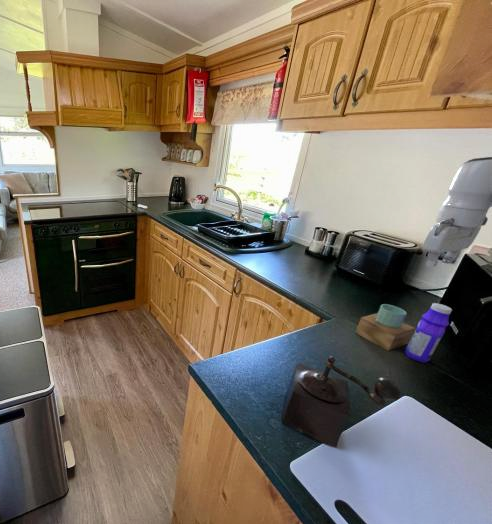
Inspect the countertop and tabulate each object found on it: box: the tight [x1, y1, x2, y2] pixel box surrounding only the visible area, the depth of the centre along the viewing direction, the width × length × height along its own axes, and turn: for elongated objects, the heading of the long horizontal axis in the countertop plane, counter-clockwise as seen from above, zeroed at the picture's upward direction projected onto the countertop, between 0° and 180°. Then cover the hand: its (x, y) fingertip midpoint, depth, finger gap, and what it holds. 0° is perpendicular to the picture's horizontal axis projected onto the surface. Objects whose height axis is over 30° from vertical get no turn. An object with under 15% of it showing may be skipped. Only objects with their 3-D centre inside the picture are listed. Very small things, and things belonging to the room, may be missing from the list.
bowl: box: [376, 303, 408, 328], centre depth 92 cm, size 6×6×5 cm
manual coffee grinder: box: [280, 355, 402, 448], centre depth 59 cm, size 16×11×18 cm
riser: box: [354, 312, 416, 352], centre depth 94 cm, size 10×11×6 cm
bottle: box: [404, 302, 453, 364], centre depth 84 cm, size 7×6×17 cm
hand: (438, 264), depth 85 cm, fingers open, 8 cm apart
